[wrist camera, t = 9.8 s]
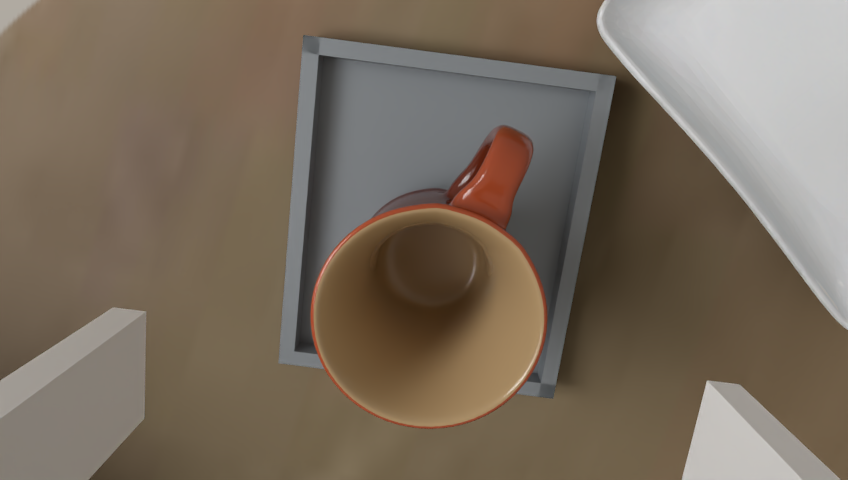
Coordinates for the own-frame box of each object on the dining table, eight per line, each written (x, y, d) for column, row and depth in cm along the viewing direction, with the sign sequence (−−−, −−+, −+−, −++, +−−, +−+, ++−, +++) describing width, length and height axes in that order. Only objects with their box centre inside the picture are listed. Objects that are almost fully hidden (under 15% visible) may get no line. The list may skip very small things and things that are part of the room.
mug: (466, 354, 33) (478, 465, 23) (324, 286, 32) (272, 370, 23) (575, 161, 31) (640, 192, 21) (422, 82, 30) (413, 74, 20)
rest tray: (286, 349, 34) (278, 363, 32) (311, 38, 30) (303, 34, 28) (547, 383, 34) (553, 398, 32) (606, 77, 30) (616, 76, 28)
